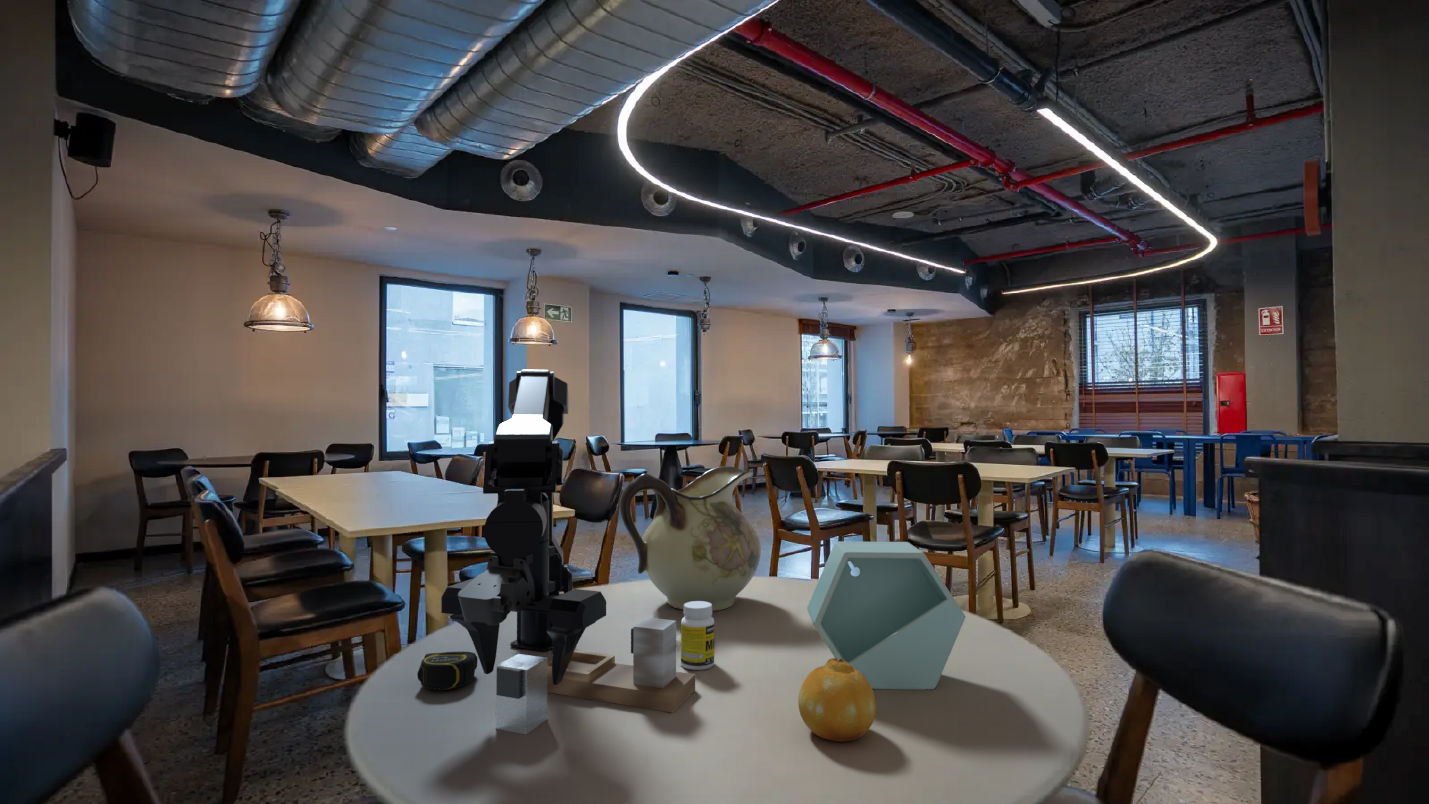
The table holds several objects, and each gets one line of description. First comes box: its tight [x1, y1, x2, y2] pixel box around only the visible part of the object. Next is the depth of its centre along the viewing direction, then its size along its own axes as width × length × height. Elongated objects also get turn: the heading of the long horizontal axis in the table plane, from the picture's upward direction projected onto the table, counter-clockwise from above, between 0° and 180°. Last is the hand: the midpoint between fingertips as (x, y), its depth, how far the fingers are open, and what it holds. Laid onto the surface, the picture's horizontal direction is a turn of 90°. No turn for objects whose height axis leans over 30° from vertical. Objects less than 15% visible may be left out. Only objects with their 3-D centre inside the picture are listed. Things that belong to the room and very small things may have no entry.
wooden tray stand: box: [547, 617, 696, 713], centre depth 87 cm, size 20×7×9 cm, turn 70°
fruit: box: [797, 657, 877, 742], centre depth 75 cm, size 8×8×8 cm
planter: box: [806, 541, 966, 691], centre depth 91 cm, size 17×8×21 cm
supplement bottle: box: [680, 601, 715, 671], centre depth 96 cm, size 5×5×8 cm
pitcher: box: [619, 465, 762, 612], centre depth 127 cm, size 22×24×25 cm
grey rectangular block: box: [495, 653, 548, 735], centre depth 77 cm, size 4×5×7 cm
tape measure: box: [416, 651, 479, 690], centre depth 89 cm, size 7×7×4 cm
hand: (522, 678), depth 78 cm, fingers open, 9 cm apart
